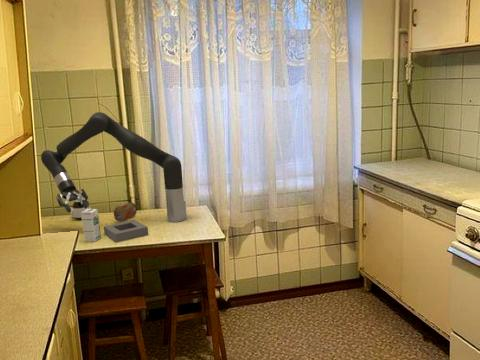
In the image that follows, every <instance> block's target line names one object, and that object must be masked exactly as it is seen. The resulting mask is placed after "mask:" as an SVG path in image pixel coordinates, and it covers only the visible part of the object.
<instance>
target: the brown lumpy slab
mask: <svg viewBox="0 0 480 360" xmlns="http://www.w3.org/2000/svg"><path fill="white" fill-rule="evenodd" d="M137 210H138V209H137V206H136V204H135V203H134V202H126V203H124V204H121V205H118V206H116V207H115V208H114V210H113V218H114V220H115V221H116V222H119V223H122V222H126V221H129V220H131V219H133V218H135V216H136V215H137Z"/></svg>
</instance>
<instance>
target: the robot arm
mask: <svg viewBox="0 0 480 360" xmlns="http://www.w3.org/2000/svg"><path fill="white" fill-rule="evenodd" d="M101 133H106V134H108V135H110V136H111V137H113V138H114V139H115V140H116V141H117V142H119V144H120V145H121V146H122V147H123V148H124V149H125V150H127V151H129V152H130V153H132V154H134V155H136V156H138V157H141V158H142V159H145V160H148V161H151V162H153V163H155V164H156V165H158V166H159V167H161V168H162V169H163V171H162V172H163V179H164V180H163V181H164V182H163V183H164V193H165V202H166V219H167V221H168V222H172V223H178V222H182V221H185V220H187V217H188V215H187V204H186V201H185V200H184V198H185V197H184V186H183V185H184V184H183V182H184V181H183V169H182V163H181V160H180V159H179V157H176V156H175V155H172V154H170V153H168V152H165V151H164V150H162V149H160V148H159V147H157V146H155V145H154V144H153V143H152V142H150V141H149V140H147V139H146V138H144V137H143V136H141V135H139V134H137V133H135V132H133V131H132V130H130V129H128V128H127V127H125V126H123V125H121V124H120V123H119V122H117V121H115V120H114V119H113V118H111V117H110V116H109V115H107V114H106V113H104V112H101V111H97V112H95V113H93V114H91V116H90V117H89V119H88V121H87V122H86V123H85V124H84V125H83V126H82V127H81V128H80V129H78V130H77V131H76V132H74V133H72V134H71V135H69V136H67V137H66V138H65V139H63V140H62V141H60V142H59V143H58V144H57V145H56V151H52V150H49V149H48V150H44V151H43V152H41V155H40V158H41V163H42V164H43V165H44V167H45V168H46V169H47V170H48V171H49V172H50V173H51V177H52V178H53V180H54V182H55V185H56V187H57V189H58V191H59V192H60V193H57V195H56V197H55V198H56V201H57V203H58V205H59V206H58V207H60V208H61V207H64V208H65V210H66V212H67V213H70V212H71V208H72V207H70V205H69V202H72V201H73V202H74V201H75V200H77V201H80V202H82V204H83V206H84V208H85V209H87V207H88V204H87V202H86V201H88V200H89V196H88V195H87V193H86V191H85V189H84V188H82V189H80V190H78V189H77V187H76V184H75V183H74V181H73V180H72V178H71V176H70V174H69V173H68V171H67V169H66V167H65V166H64V165H63V164H62V163H63V162H64V161H65V159H67V157H68V156H69V155H70V154H71V153H73V152H74V151H75V150H77V149H78V148H79V147H80V146H81V145H83V144H84V143H86V142H87V141H88V140H90V139H91V138H93V137H96V136H98V135H99V134H101ZM78 197H79V198H78ZM63 199H65V201H63Z"/></svg>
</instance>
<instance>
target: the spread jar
mask: <svg viewBox="0 0 480 360" xmlns="http://www.w3.org/2000/svg"><path fill="white" fill-rule="evenodd" d="M78 198H79V197H78ZM86 202H87V204H88V207H87V209H91V205H90V202H89V200H87V201H86ZM72 203H73V204H72V207H70V208H71V212H70V216H71V217H73V219H74V220H76V221H82V217H81V212H83V211H85V210H86V209H85V208H84V206H83V204H82V202H80V201H77V200H75V201H73V202H72Z"/></svg>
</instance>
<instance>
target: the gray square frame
mask: <svg viewBox="0 0 480 360" xmlns="http://www.w3.org/2000/svg"><path fill="white" fill-rule="evenodd" d="M103 234H104V236H106V237H108V239H109V238H110V239H111V240H112V241H113V242H115V243H120V242H124V241H129V240H132V239H137V238H140V237H141V238H142V237H145V236H149V229H148V226H147V225H145V224H143V223H141V222H139V221H137V220H136V219H132V220H131V219H130V220H126V221H123V222H117V223H113V224H110V225H109V224H108V225H104V226H103Z"/></svg>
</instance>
